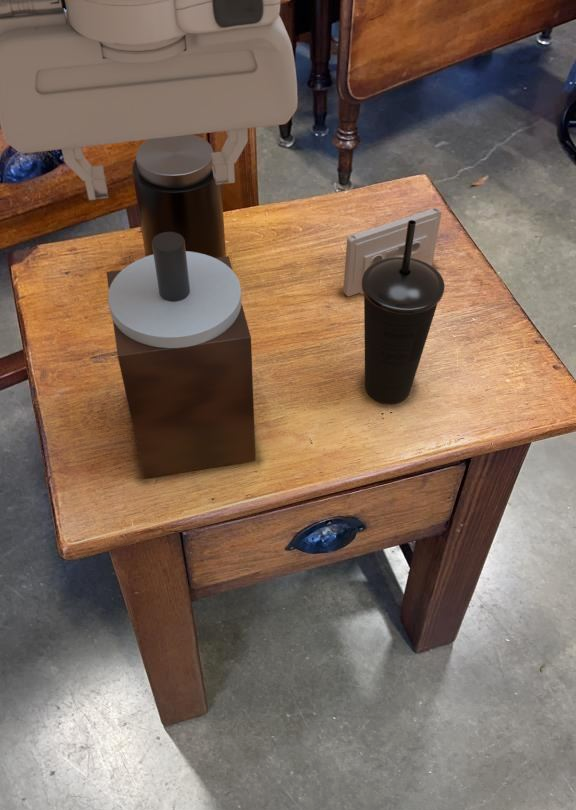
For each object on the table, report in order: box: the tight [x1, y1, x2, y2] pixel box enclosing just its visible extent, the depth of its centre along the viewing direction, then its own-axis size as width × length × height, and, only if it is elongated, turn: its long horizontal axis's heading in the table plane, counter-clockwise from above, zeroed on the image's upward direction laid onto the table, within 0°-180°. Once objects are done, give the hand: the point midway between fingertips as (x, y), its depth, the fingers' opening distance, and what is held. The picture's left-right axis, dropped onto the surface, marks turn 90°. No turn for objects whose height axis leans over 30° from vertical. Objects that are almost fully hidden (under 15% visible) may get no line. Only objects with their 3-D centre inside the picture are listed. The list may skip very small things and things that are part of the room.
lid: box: [107, 232, 242, 348], centre depth 68 cm, size 11×11×6 cm
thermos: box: [131, 134, 227, 258], centre depth 92 cm, size 9×9×16 cm
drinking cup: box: [361, 220, 445, 405], centre depth 79 cm, size 8×8×20 cm
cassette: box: [342, 207, 442, 297], centre depth 95 cm, size 12×2×8 cm, turn 118°
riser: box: [106, 255, 257, 479], centre depth 77 cm, size 11×11×16 cm
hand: (161, 187), depth 62 cm, fingers open, 8 cm apart
